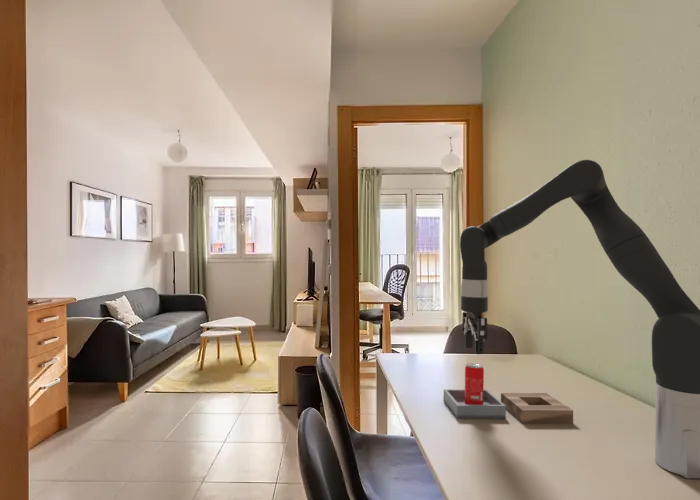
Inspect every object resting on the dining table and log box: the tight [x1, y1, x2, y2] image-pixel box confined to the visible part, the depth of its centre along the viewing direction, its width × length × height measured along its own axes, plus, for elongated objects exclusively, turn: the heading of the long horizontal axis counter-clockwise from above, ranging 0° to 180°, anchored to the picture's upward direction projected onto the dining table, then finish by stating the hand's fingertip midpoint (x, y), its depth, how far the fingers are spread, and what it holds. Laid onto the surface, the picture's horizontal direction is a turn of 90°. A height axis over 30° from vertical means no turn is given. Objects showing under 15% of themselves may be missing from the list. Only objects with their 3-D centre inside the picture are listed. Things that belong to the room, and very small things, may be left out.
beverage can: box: [464, 362, 485, 405], centre depth 119 cm, size 5×5×12 cm
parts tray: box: [442, 388, 507, 420], centre depth 120 cm, size 14×14×4 cm
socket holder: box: [500, 392, 574, 424], centre depth 117 cm, size 14×14×4 cm
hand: (473, 350), depth 120 cm, fingers open, 8 cm apart
